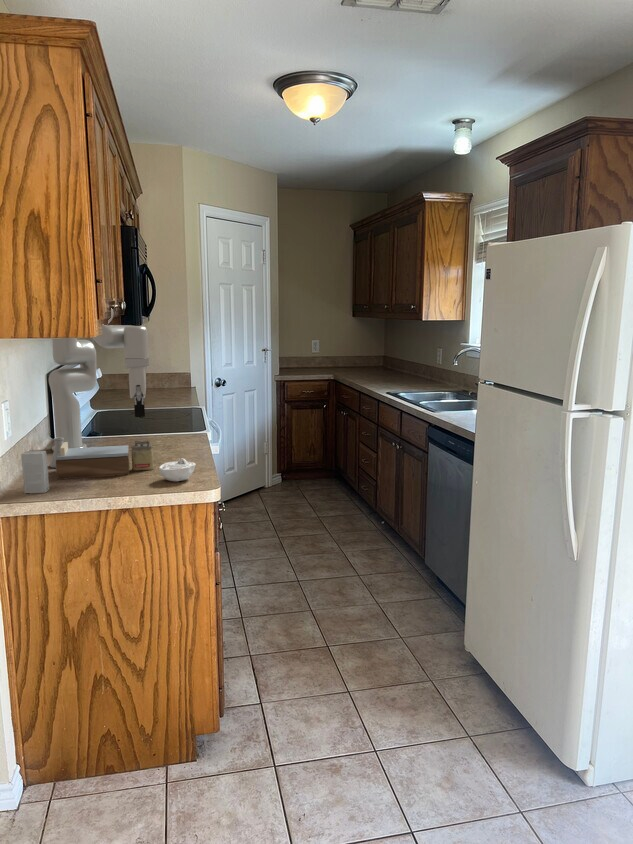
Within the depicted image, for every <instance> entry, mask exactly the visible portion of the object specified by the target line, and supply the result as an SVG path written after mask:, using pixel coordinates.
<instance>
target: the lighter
mask: <svg viewBox="0 0 633 844" xmlns="http://www.w3.org/2000/svg"><path fill="white" fill-rule="evenodd" d="M134 444H135V445H132V446H131V449H130V451H131V466H132V467H131V468H132V469H131V470H132V471H152V470H154V469H155V468H154V467H155V465H154V451H153V450H154V449H153V445H152V444H151V443H150V439H147V440H134ZM150 444H151V445H150Z"/></svg>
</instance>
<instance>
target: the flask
mask: <svg viewBox="0 0 633 844" xmlns="http://www.w3.org/2000/svg"><path fill="white" fill-rule="evenodd" d="M63 440H64V438H63V437H57V438H56V437H54V438H53V441H54V446H55V448H54V451H52V452H53V453H52V456H51V459H50V462H49V467H50V468H53V469H56V455H57V454H58V452H59V450H60V448H61V446H62V444H63Z"/></svg>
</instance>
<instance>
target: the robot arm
mask: <svg viewBox="0 0 633 844" xmlns="http://www.w3.org/2000/svg"><path fill="white" fill-rule="evenodd" d="M116 303H117V302H116V298H115V305H116ZM114 315H115V314H114V309H112V308H111V318H110V319H109V320H108V324H107V325H104V324H102V331H103V332H102V333H103V334H102V335H99V336H97V337H94V338H92V339H93V340H94V342H96V344H97V345H99V347H102V348H104V349H121V348H122V349H124V358H125V359H124V361H125V363H124V365H125V369H128V382H129V383H128V384H129V398H130V399H133V398H134V405H133V406H134V407H133V408H134V417H135V418H145V416H146V413H145V412H146V411H145V400H144V399H145V398H146V394H147V393H146V392H147V375H146V369H149V368H150V360H149V359H150V358H149V357H150V355H149V339H148V337H149V335H148V329H147V328H146V326H143V325H128V324H127V325H125V324H124V325H122V324H121V325H120V324H115V325H113V324H112V325H111V324H110V325H109V323H110V322H112V320H113V318H114ZM52 357H53V358H52V359H53V361H54V363H56V364H57V365H60V366H73V365H75V366H76V365H80V366H79V367H66V368H65V367H63V368H58V369H57V368H56V369H54V370H53V371H51V372H49V375H48V385H49V388H50V392H51V397H52V405H53V418H54V433H55V438H57V437H63V438H64V440H63V443H64V442H68V448H86V447H88V446H87V444H86V443H83V438H82V437H83V436H82V435H83V434H82V421H81V420H82V419H81V408H80V407H81V406H80V401H79V399H77V398H76V396H75V395H74V394H73V393H81V392H89V391H92V390H94V388H95V387H96V385H97V350H96V348H95V344H93V342H92V341H90V340H88V339H77V338H61V339H52ZM54 448H55V445H53V446H52V447H51V449H52V450H51V451H52V452H54Z"/></svg>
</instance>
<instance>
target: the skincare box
mask: <svg viewBox="0 0 633 844" xmlns="http://www.w3.org/2000/svg"><path fill="white" fill-rule="evenodd" d="M20 459H21V467H22V479H23V489H24V490H23V491H24V492H23V493H24V494H25V493H30V494H44V493H47V492H48V491H49V490H50V481H49V470H48V457H47V450H30V451H27V450H26V451H24V452H23V453H21V454H20Z"/></svg>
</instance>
